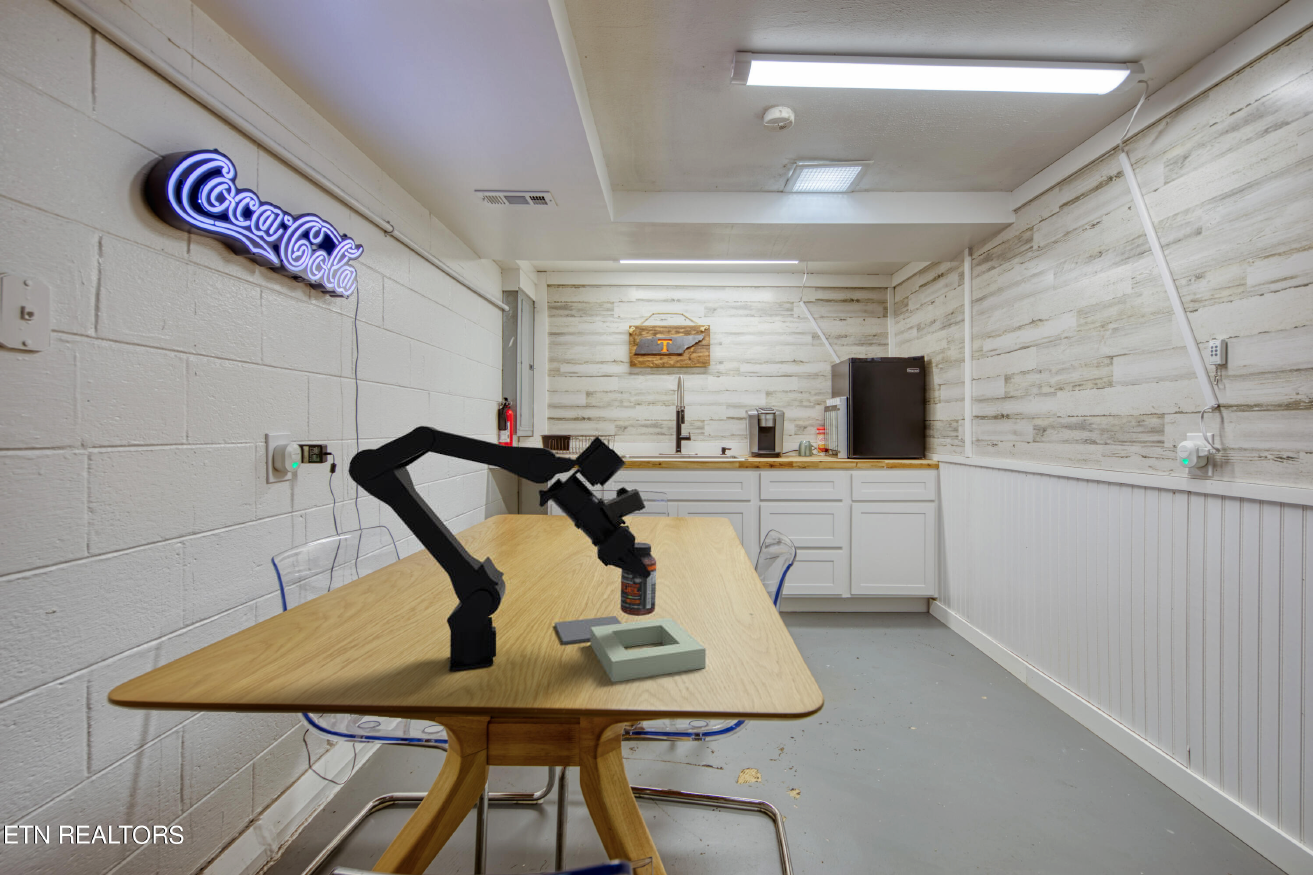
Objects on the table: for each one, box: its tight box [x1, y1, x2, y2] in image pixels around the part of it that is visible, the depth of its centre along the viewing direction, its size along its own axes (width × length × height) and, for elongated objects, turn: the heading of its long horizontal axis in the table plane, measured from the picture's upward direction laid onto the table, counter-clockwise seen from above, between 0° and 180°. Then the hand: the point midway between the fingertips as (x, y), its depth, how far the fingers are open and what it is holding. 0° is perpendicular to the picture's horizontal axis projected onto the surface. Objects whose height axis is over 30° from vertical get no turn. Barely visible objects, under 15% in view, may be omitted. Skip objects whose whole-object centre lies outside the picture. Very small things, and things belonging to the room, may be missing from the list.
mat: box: [554, 615, 623, 646], centre depth 95 cm, size 12×10×1 cm
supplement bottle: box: [620, 541, 657, 617], centre depth 86 cm, size 6×6×11 cm
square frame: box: [590, 617, 707, 683], centre depth 84 cm, size 15×15×3 cm
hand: (646, 571), depth 86 cm, fingers closed on supplement bottle, 6 cm apart
